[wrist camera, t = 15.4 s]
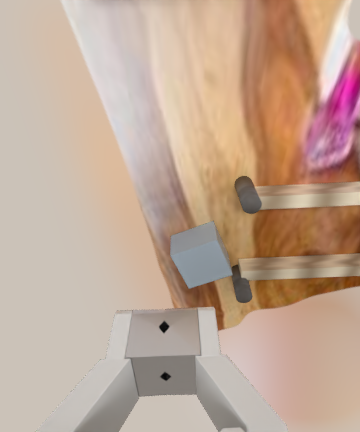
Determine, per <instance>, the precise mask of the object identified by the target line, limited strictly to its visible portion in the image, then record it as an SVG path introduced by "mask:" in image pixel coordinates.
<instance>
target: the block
mask: <svg viewBox="0 0 360 432" xmlns="http://www.w3.org/2000/svg"><path fill="white" fill-rule="evenodd" d="M170 256H171V258H172V260H173V261H174V263H175V265H176V267H177V268H178V270H179V272H180V274H181V275H182V277H183V279H184V281H185V282H186V284H187V286H188V288H193V287H196V286H199V285H202V284H205V283H209V282H212V281H215V280H218V279H221V278H224V277H228V276H231V275H233V274H232V269H231V265H230V260H229V256H228V253H227V251H226V248H225V246H224V244H223V241H222V239H221V237H220V235H219V232H218V230H217V228H216V226H215V223H214V221H211V222H209V223H206V224H203V225H200V226H197V227H195V228H192V229H189V230H186V231H183V232H180V233H178V234H175V235H172V236H171V251H170Z"/></svg>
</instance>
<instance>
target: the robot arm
mask: <svg viewBox="0 0 360 432" xmlns="http://www.w3.org/2000/svg"><path fill="white" fill-rule="evenodd" d="M185 394H188V395H192V394H197V397H198V399H199V400H200V402H201V404H202V405H203V407H204V409H205V410H206V412H207V414H208V415H209V417H210V418H211V420H212V422H213V423H214V425H215V427H216V429H217V430H218V432H288V429H287V425H286V424H285V423H284V422H283V420H282V419H281V418H280V417H279V416H278V415H277V413H276V412H275V411H274V410H273V409H272V408H271V406H270V405H269V404H268V403H267V402H266V400H265V399H264V398H263V397H262V396H261V395H260V393H259V392H258V391H257V390H256V389H255V388H254V386H253V385H252V384H251V383H250V382H249V381H248V379H247V378H246V377H245V376H244V375H243V374H242V372H241V371H240V370H239V369H238V368H237V367H236V366H235V364H233V362H232V361H231V360H230V359H229V357H228V356H227V355H221V350H220V344H219V335H218V328H217V321H216V313H215V309H214V307H199V308H197V307H195V308H176V309H165V310H121V311H117V312H116V313H115V316H114V320H113V325H112V330H111V334H110V339H109V344H108V348H107V354H106V358H105V359H101V360H99V361H98V363H97V364H96V365H95V366H94V367H93V368H92V369H91V370H90V371H89V373H88V374H87V375H86V376H85V377H84V378H83V379H82V380H81V382H80V383H79V384H78V385H77V386H76V387H75V388H74V389H73V390H72V391H71V393H70V394H69V395H68V396H67V397H66V398H65V399H64V400H63V401H62V403H61V404H60V405H59V406H58V407H57V408H56V409H55V410H54V411H53V413H52V414H51V415H50V416H49V417H48V418H47V419H46V420H45V422H44V423H43V424H42V425H41V426H40V427H39V428H38V429H37V430H36V431H35V432H119V430H120V429H121V427H122V425H123V424H124V422H125V420H126V419H127V417H128V415H129V414H130V412H131V411H132V409H133V407H134V406H135V404H136V403H137V401H138V399H139V396H155V395H185Z"/></svg>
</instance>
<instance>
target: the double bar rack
mask: <svg viewBox="0 0 360 432" xmlns="http://www.w3.org/2000/svg"><path fill="white" fill-rule="evenodd" d="M235 188H236V191H237V194H238V197H239V200H240V202H241V205H242V208H243V210H244V211H245V212H246V213H249V214H253V213H256V212H258V211H259V210H263V209H285V208H306V207H327V206H349V205H360V182H341V183H320V184H299V185H278V186H257V187H254V185H253V183H252V181H251V179H250V178H249V177H247V176H242V177H239V178H238V179H237V180H236V181H235ZM231 269H232V274H233V275H231V276H232V280H233V285H234V290H235V294H236V299H237V301H238V302H241V303H246V302H249V301H250V300H251V299H252V293H251V289H250V286H249V282H248V281H249V280H272V279H296V278H319V277H342V276H360V253H358V254H336V255H313V256H290V257H268V258H245V259H238V265H235V266H233V267H232V268H231Z"/></svg>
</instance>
